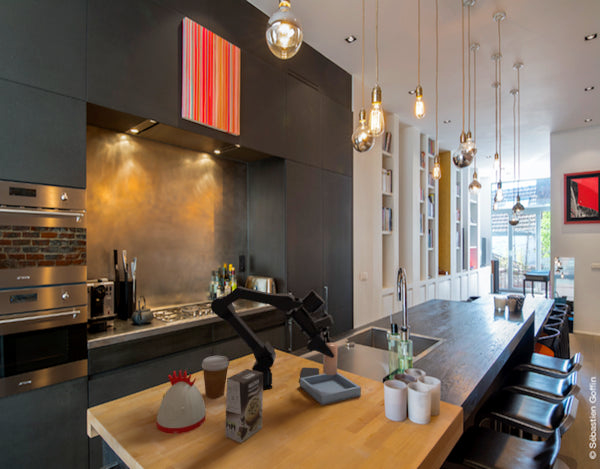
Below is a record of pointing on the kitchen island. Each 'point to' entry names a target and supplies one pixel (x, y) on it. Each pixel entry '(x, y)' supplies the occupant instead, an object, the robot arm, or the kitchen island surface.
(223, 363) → the disposable coffee cup
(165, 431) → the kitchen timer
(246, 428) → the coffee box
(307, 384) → the tray
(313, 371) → the phone
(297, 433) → the kitchen island surface
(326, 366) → the tan rounded glossy part
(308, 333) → the robot arm
